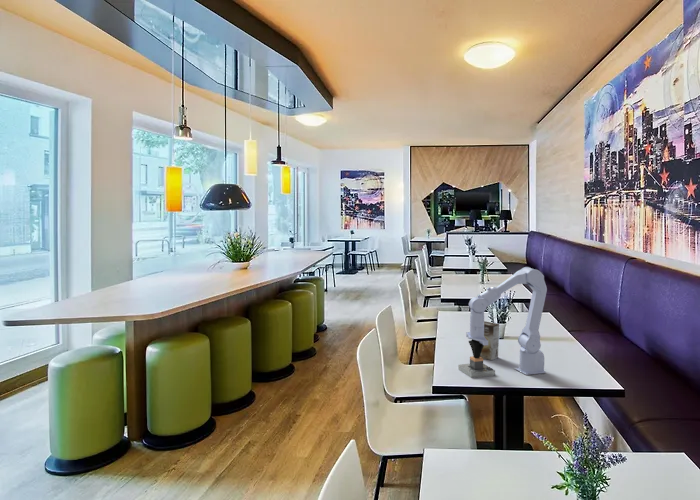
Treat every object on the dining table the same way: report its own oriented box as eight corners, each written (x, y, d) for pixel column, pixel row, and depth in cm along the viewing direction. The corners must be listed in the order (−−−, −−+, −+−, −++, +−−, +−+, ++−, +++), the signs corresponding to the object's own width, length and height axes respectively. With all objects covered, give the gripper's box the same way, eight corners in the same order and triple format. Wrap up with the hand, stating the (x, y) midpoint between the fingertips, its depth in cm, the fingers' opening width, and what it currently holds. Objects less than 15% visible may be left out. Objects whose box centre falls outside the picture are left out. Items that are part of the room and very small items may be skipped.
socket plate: (481, 366, 210) (481, 361, 209) (495, 375, 199) (495, 369, 199) (458, 369, 207) (458, 363, 207) (471, 377, 196) (471, 372, 196)
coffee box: (474, 356, 225) (474, 322, 223) (480, 353, 229) (481, 320, 228) (492, 360, 218) (493, 326, 217) (499, 357, 223) (499, 323, 222)
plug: (478, 369, 205) (478, 355, 205) (483, 372, 202) (483, 358, 201) (469, 370, 204) (469, 356, 204) (474, 373, 200) (474, 359, 200)
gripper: (460, 322, 207) (459, 353, 208) (477, 330, 193) (477, 363, 194) (474, 321, 209) (474, 352, 210) (493, 329, 195) (492, 362, 196)
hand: (476, 357), depth 202 cm, fingers closed, pressing on plug
